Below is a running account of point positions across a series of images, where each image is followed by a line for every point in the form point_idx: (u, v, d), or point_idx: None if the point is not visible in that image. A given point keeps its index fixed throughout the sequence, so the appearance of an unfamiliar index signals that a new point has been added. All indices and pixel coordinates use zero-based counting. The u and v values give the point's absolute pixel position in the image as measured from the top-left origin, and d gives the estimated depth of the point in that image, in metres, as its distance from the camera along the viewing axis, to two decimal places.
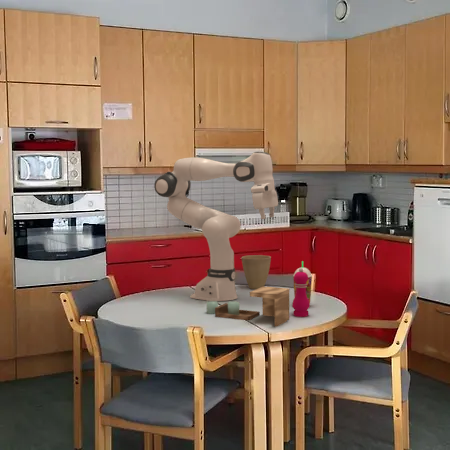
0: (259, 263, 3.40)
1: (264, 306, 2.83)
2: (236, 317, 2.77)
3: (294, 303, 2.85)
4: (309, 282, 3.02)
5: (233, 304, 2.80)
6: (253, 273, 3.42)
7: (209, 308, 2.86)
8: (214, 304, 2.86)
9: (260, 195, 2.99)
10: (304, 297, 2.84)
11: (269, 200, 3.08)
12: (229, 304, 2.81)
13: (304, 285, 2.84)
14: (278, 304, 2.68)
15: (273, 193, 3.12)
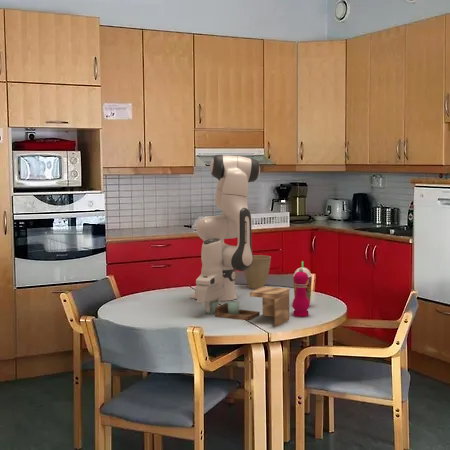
0: (259, 263, 3.40)
1: (264, 306, 2.83)
2: (236, 317, 2.77)
3: (294, 303, 2.85)
4: (309, 282, 3.02)
5: (233, 304, 2.80)
6: (253, 273, 3.42)
7: None
8: (214, 304, 2.86)
9: (205, 289, 2.79)
10: (304, 297, 2.84)
11: (215, 292, 2.87)
12: (229, 304, 2.81)
13: (304, 285, 2.84)
14: (278, 304, 2.68)
15: (221, 283, 2.92)
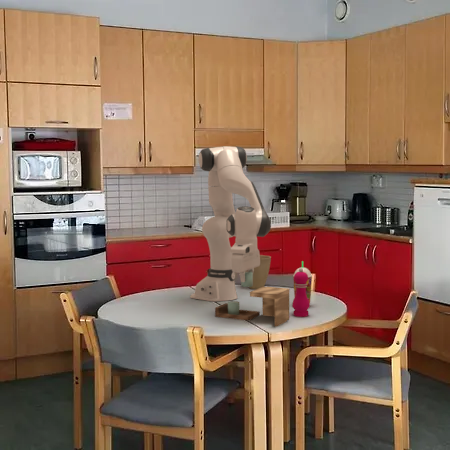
0: None
1: (264, 306, 2.83)
2: (236, 317, 2.77)
3: (294, 303, 2.85)
4: (309, 282, 3.02)
5: (233, 304, 2.80)
6: (253, 273, 3.42)
7: None
8: (249, 274, 2.77)
9: (240, 258, 2.69)
10: (304, 297, 2.84)
11: (250, 261, 2.77)
12: (229, 304, 2.81)
13: (304, 285, 2.84)
14: (278, 304, 2.68)
15: (255, 253, 2.82)
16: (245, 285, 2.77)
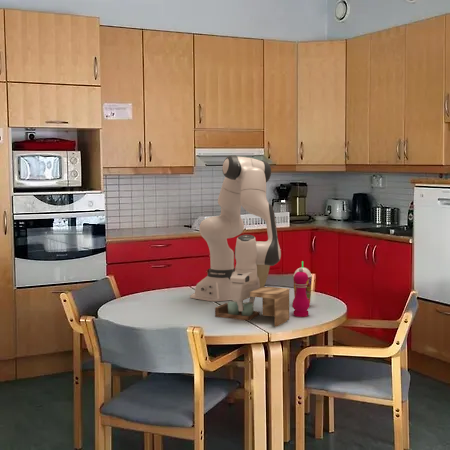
0: None
1: (264, 306, 2.83)
2: (236, 317, 2.77)
3: (294, 303, 2.85)
4: (309, 282, 3.02)
5: (233, 304, 2.80)
6: None
7: (244, 310, 2.78)
8: (249, 306, 2.78)
9: (239, 287, 2.70)
10: (304, 297, 2.84)
11: (250, 290, 2.79)
12: (229, 304, 2.81)
13: (304, 285, 2.84)
14: (278, 304, 2.68)
15: (255, 281, 2.83)
16: None
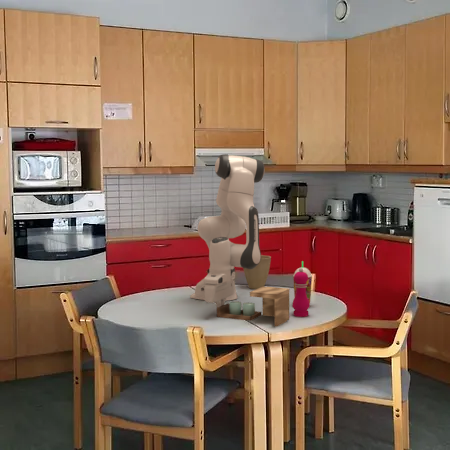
0: (259, 263, 3.40)
1: (264, 306, 2.83)
2: (238, 317, 2.77)
3: (294, 303, 2.85)
4: (309, 282, 3.02)
5: (235, 304, 2.80)
6: (253, 273, 3.42)
7: (246, 310, 2.78)
8: (251, 306, 2.78)
9: (213, 288, 2.76)
10: (304, 297, 2.84)
11: (223, 291, 2.84)
12: (231, 304, 2.81)
13: (304, 285, 2.84)
14: (278, 304, 2.68)
15: (229, 282, 2.88)
16: None
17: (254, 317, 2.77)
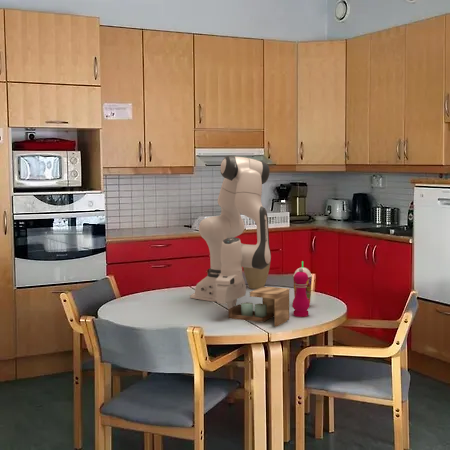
0: None
1: None
2: (250, 318, 2.74)
3: (294, 303, 2.85)
4: (309, 282, 3.02)
5: (247, 305, 2.78)
6: (253, 273, 3.42)
7: (258, 311, 2.75)
8: (263, 307, 2.75)
9: (224, 289, 2.73)
10: (304, 297, 2.84)
11: (235, 292, 2.82)
12: (242, 305, 2.78)
13: (304, 285, 2.84)
14: (278, 304, 2.68)
15: (241, 283, 2.86)
16: None
17: (266, 318, 2.75)
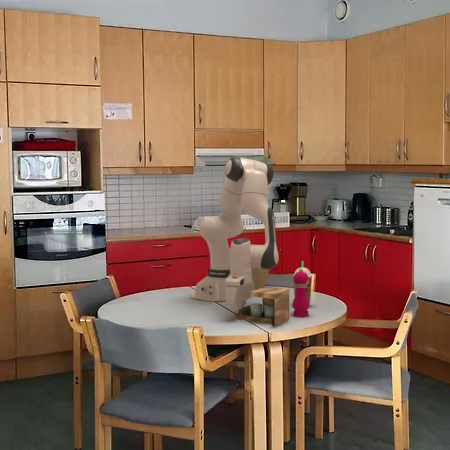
0: None
1: (264, 306, 2.83)
2: (259, 320, 2.72)
3: (294, 303, 2.85)
4: (309, 282, 3.02)
5: (256, 306, 2.76)
6: (253, 273, 3.42)
7: (267, 312, 2.74)
8: (272, 308, 2.73)
9: (234, 290, 2.71)
10: (304, 297, 2.84)
11: (244, 293, 2.80)
12: (252, 306, 2.77)
13: (304, 285, 2.84)
14: (278, 304, 2.68)
15: (250, 284, 2.84)
16: None
17: None
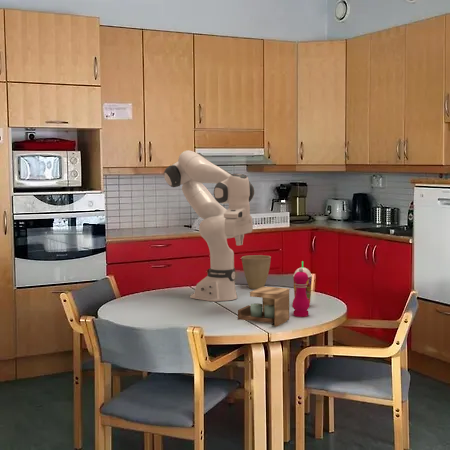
0: (259, 263, 3.40)
1: None
2: (259, 320, 2.72)
3: (294, 303, 2.85)
4: (309, 282, 3.02)
5: (256, 306, 2.76)
6: (253, 273, 3.42)
7: (267, 312, 2.74)
8: (272, 308, 2.73)
9: (233, 222, 2.79)
10: (304, 297, 2.84)
11: (243, 226, 2.88)
12: (252, 306, 2.77)
13: (304, 285, 2.84)
14: (278, 304, 2.68)
15: (248, 219, 2.92)
16: None
17: None
